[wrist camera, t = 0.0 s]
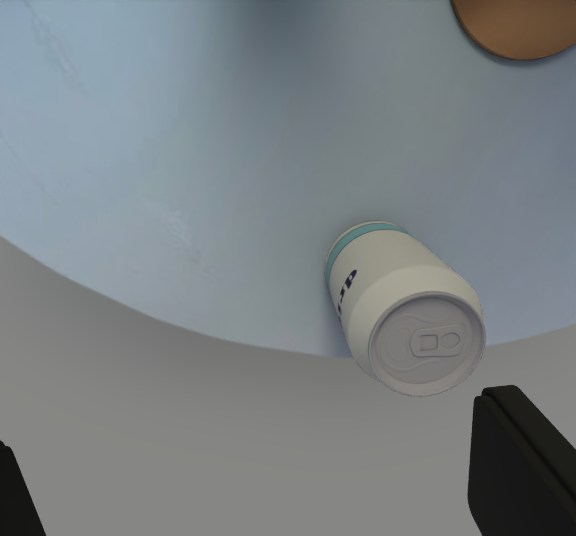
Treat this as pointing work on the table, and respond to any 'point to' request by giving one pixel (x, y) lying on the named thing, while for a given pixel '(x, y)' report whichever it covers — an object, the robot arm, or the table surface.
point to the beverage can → (404, 310)
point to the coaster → (519, 26)
